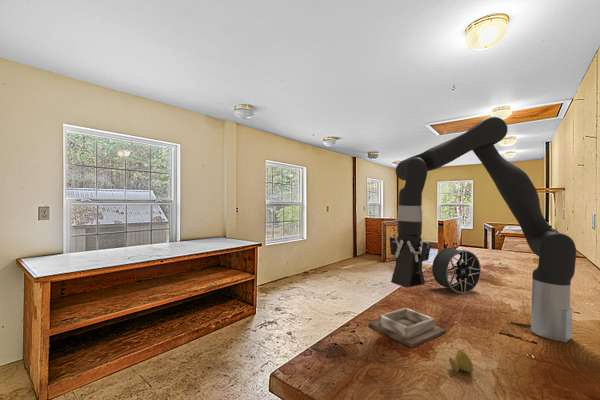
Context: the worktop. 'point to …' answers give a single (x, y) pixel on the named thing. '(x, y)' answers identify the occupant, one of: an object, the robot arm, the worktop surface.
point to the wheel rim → (457, 269)
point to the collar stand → (407, 326)
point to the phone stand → (407, 270)
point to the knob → (461, 362)
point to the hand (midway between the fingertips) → (408, 270)
